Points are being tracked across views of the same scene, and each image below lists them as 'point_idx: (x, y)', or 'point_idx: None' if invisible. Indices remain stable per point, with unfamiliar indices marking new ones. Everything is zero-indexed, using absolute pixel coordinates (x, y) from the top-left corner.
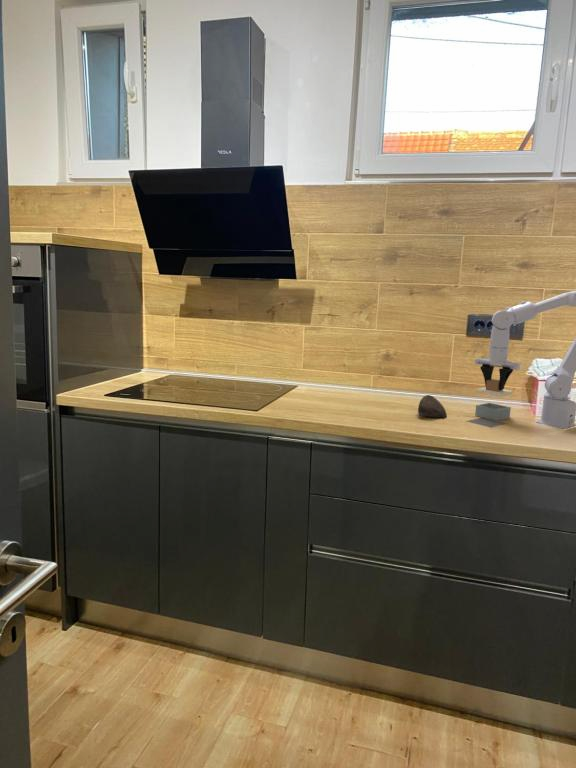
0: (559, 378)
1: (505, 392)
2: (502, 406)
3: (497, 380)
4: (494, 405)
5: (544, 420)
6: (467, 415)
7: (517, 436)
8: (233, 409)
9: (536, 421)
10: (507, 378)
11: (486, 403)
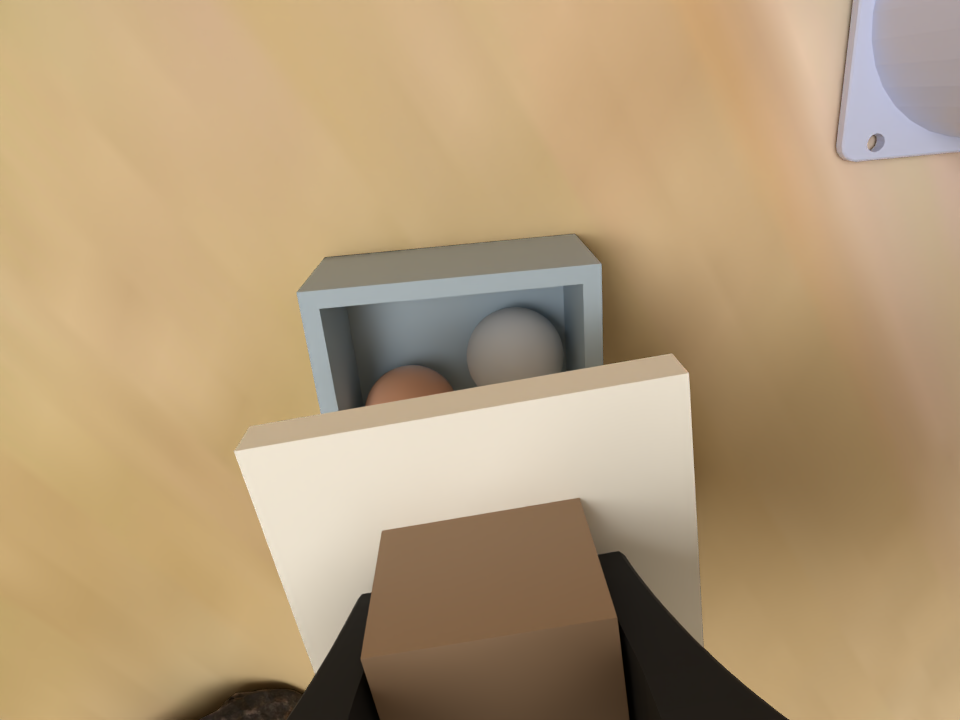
0: None
1: (699, 595)
2: (499, 288)
3: (525, 694)
4: (392, 297)
5: (956, 134)
6: None
7: (896, 648)
8: None
9: (851, 143)
10: (739, 696)
11: (326, 371)
